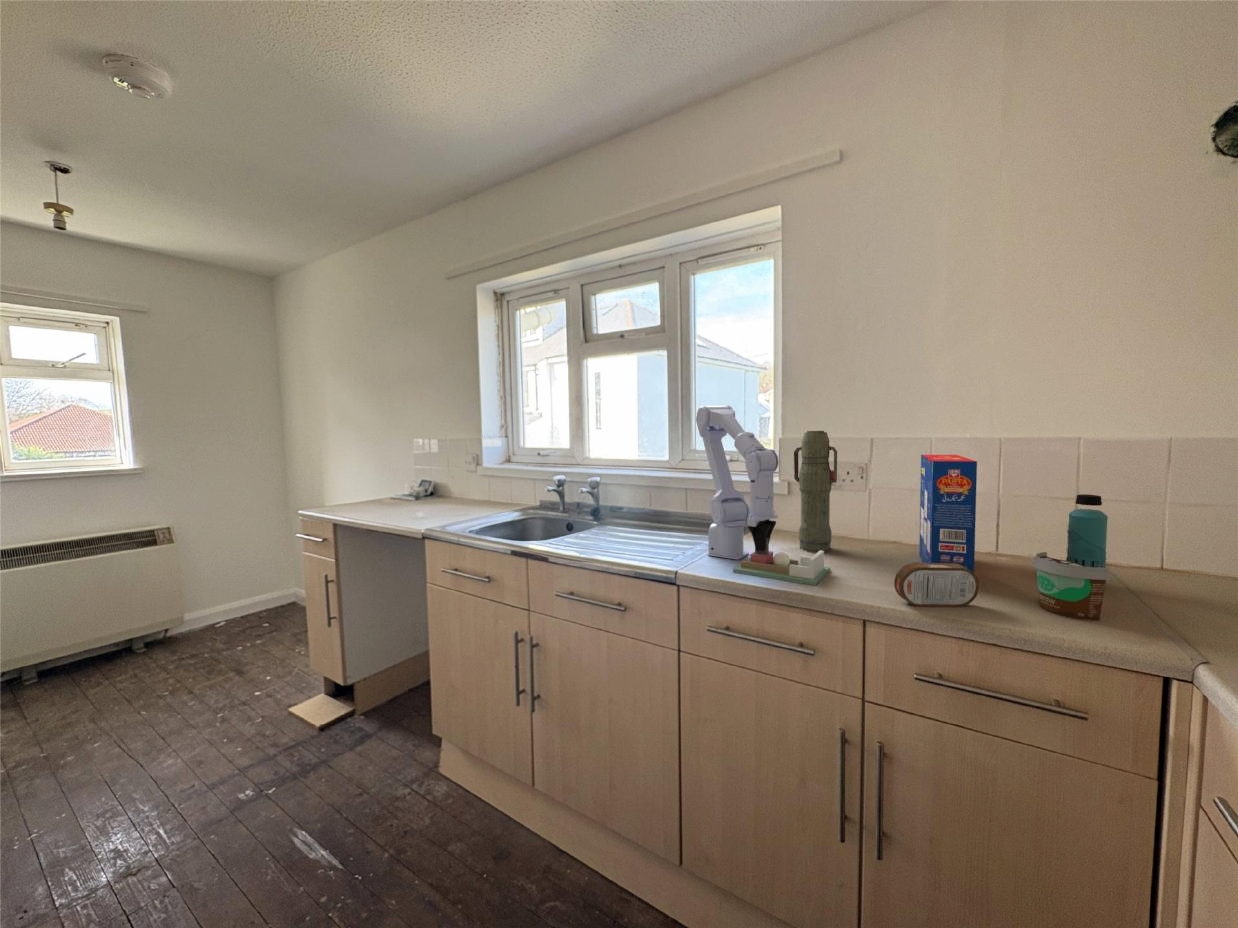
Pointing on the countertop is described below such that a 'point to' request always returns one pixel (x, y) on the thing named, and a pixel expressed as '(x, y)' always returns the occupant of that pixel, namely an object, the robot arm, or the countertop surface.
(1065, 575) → the food container
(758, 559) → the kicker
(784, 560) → the ball
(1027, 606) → the countertop surface
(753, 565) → the pitch
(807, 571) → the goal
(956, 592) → the tin
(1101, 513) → the beverage bottle
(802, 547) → the thermos
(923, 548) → the pasta box
